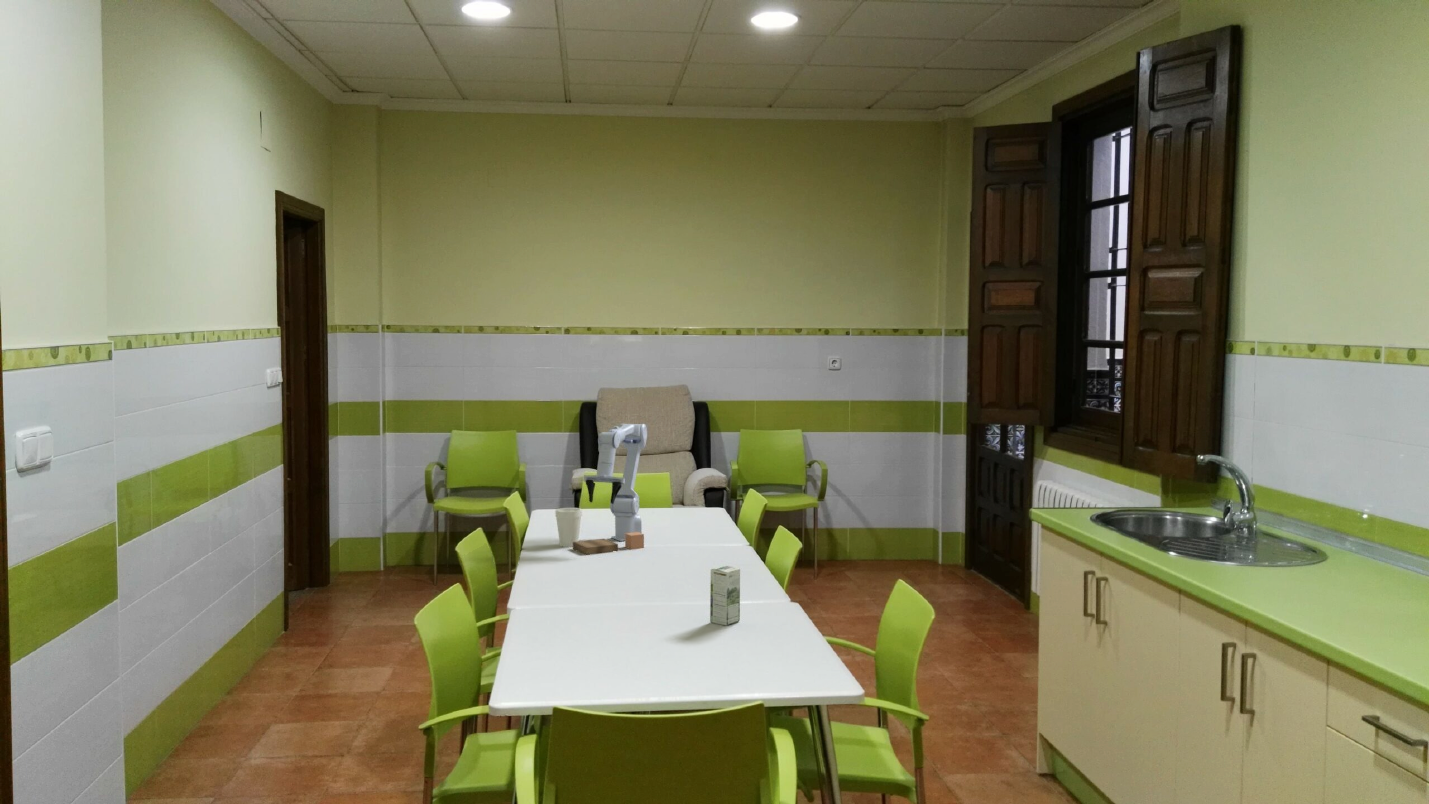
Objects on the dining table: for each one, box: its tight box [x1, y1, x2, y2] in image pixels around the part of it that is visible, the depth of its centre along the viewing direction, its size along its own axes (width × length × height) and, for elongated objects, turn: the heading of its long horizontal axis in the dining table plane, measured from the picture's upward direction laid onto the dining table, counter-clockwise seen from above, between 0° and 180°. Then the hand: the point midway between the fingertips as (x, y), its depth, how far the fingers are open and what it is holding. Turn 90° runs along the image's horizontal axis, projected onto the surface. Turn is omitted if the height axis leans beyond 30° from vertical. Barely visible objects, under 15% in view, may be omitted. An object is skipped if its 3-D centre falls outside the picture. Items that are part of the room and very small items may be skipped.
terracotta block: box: [624, 532, 645, 550], centre depth 379 cm, size 5×5×5 cm
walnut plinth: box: [572, 538, 619, 556], centre depth 375 cm, size 12×12×3 cm
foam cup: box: [555, 507, 583, 548], centre depth 383 cm, size 10×9×13 cm
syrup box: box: [709, 565, 741, 626], centre depth 279 cm, size 6×6×14 cm
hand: (601, 502), depth 372 cm, fingers open, 7 cm apart
